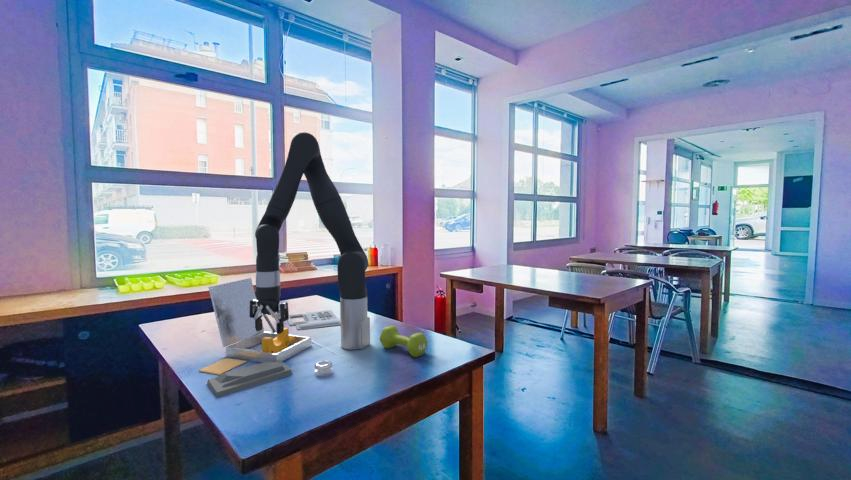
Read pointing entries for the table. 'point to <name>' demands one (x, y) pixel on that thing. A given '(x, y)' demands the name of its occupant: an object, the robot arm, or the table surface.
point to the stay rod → (269, 323)
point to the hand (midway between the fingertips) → (269, 331)
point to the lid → (234, 310)
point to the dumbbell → (404, 341)
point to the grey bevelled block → (248, 377)
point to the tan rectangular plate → (222, 366)
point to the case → (242, 352)
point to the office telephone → (315, 320)
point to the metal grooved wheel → (323, 368)
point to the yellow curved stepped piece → (276, 342)
